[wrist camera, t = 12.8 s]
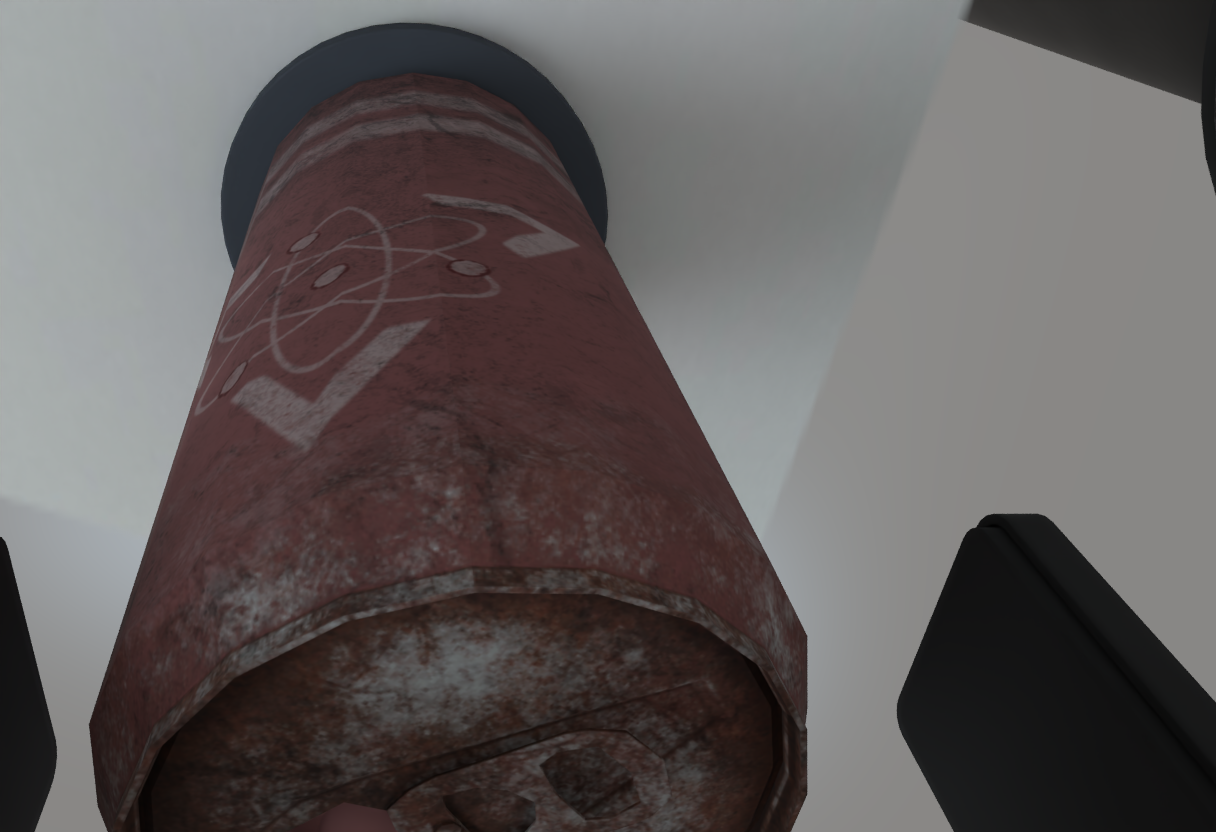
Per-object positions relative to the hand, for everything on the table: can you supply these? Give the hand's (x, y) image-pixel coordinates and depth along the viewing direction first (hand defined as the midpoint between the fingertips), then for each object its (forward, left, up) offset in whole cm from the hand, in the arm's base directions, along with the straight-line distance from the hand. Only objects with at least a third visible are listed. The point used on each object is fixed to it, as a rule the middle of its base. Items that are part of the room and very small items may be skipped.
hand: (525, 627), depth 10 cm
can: (+1, 0, -12) cm, 12 cm away
